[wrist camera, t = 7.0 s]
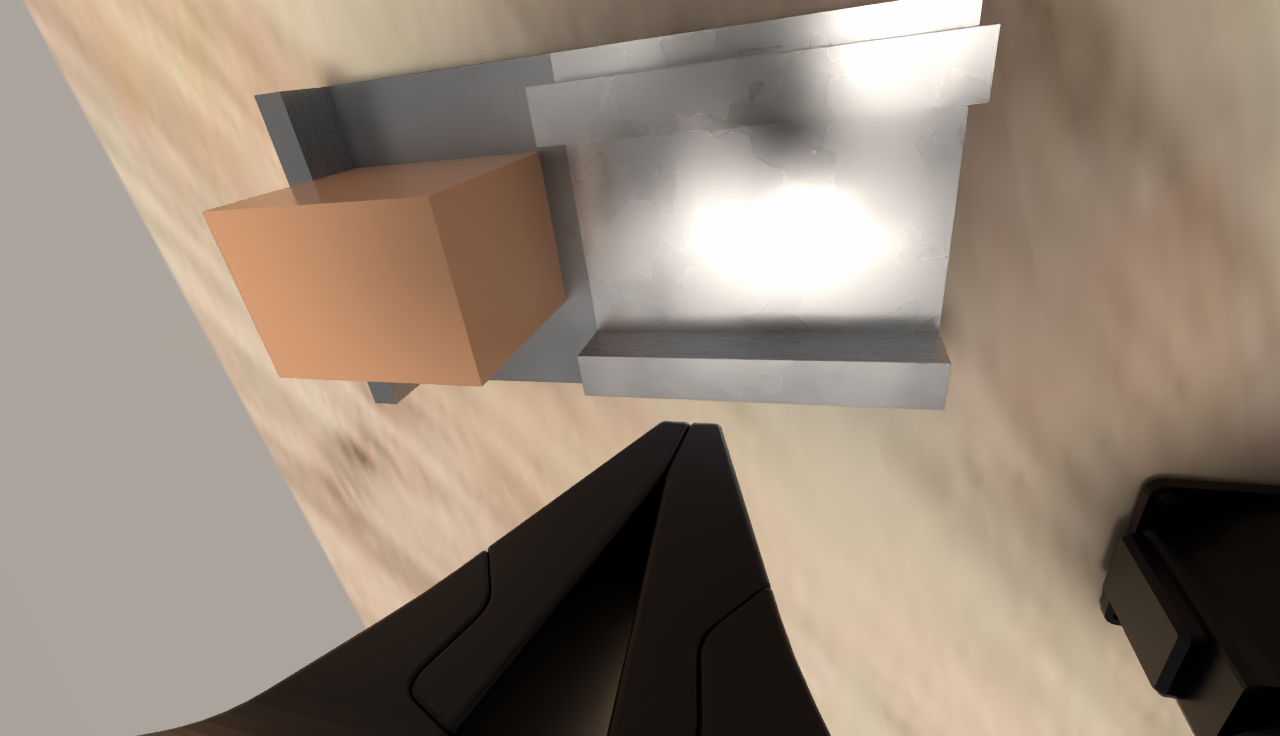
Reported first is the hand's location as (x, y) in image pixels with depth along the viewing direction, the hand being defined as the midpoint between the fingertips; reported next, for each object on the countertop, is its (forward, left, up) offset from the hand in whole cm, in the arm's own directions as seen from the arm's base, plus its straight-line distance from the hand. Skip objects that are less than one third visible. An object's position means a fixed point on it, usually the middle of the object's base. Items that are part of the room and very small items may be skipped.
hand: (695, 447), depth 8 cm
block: (+10, 0, -11) cm, 15 cm away
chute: (+5, 0, -12) cm, 13 cm away
